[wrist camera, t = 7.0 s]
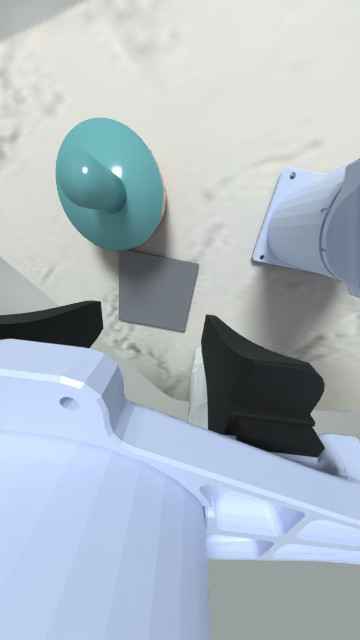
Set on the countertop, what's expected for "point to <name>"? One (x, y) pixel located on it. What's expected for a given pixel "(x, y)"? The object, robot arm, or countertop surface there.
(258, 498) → the robot arm
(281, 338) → the countertop surface
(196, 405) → the white cup
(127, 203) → the lid
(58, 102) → the countertop surface
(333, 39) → the countertop surface
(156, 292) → the mat
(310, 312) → the countertop surface
